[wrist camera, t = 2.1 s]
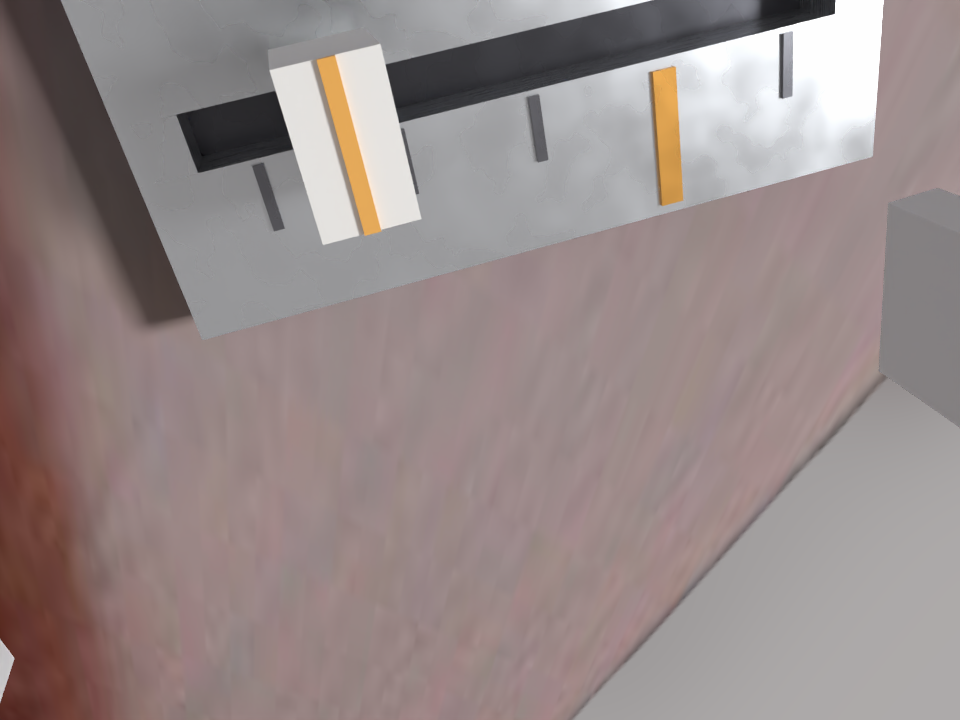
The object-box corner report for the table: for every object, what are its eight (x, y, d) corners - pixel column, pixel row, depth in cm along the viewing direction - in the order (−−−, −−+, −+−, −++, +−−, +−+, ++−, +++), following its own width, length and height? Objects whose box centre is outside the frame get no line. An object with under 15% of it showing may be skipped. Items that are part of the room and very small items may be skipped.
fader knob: (266, 34, 28) (269, 71, 21) (350, 15, 28) (381, 44, 21) (307, 172, 30) (323, 247, 23) (384, 153, 31) (422, 220, 24)
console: (47, -78, 25) (27, -78, 23) (852, -245, 28) (904, -260, 26) (206, 312, 32) (202, 342, 30) (835, 142, 36) (875, 157, 33)
